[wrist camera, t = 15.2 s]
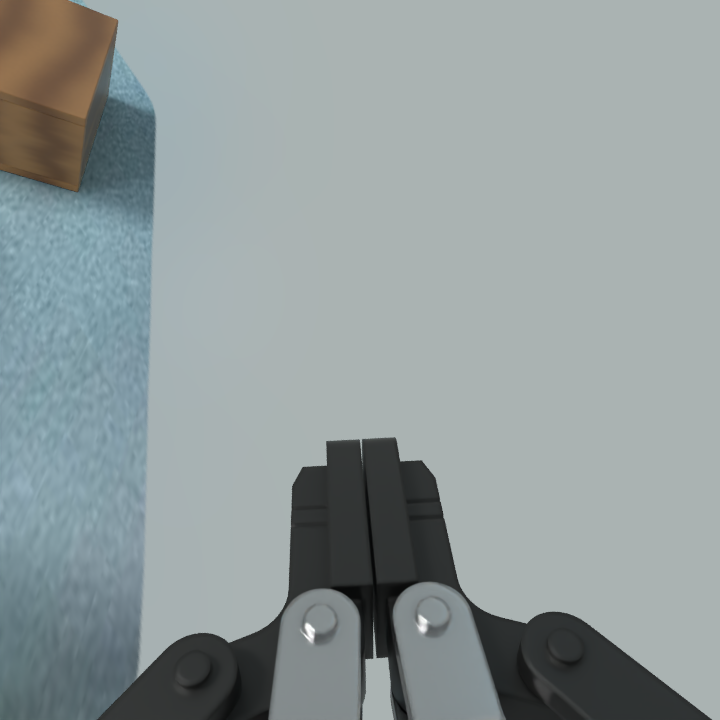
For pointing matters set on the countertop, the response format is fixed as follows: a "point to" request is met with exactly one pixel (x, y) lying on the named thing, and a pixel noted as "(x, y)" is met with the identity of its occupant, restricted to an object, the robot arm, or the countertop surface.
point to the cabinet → (52, 87)
